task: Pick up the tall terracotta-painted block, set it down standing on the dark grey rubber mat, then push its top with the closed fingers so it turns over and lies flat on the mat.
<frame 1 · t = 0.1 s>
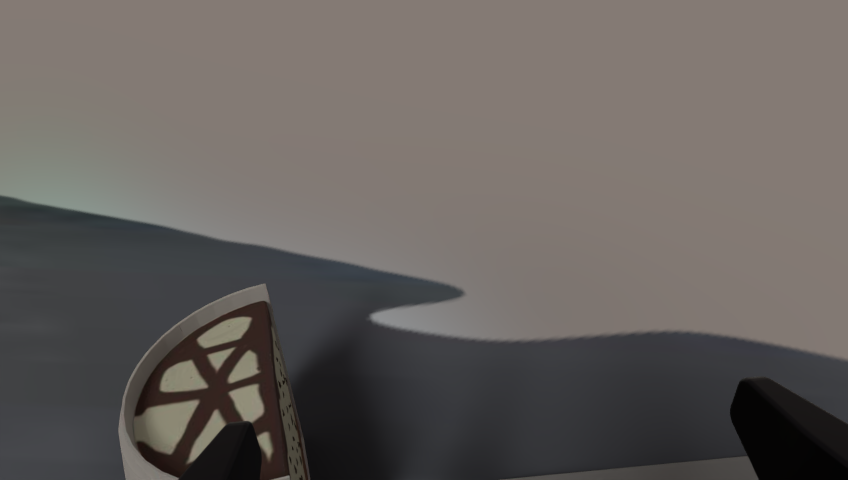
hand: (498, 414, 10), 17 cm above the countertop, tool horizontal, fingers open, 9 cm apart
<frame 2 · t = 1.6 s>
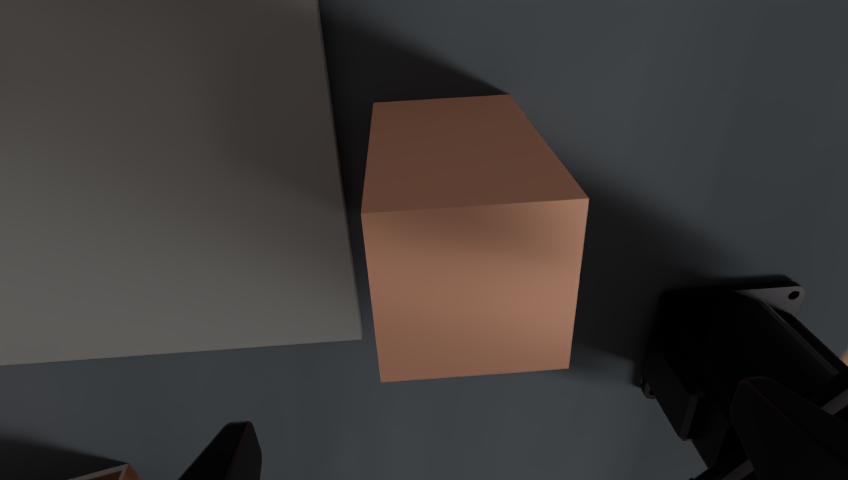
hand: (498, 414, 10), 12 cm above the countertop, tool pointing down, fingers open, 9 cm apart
block: (443, 162, 20), on the countertop
mat: (105, 184, 20), on the countertop
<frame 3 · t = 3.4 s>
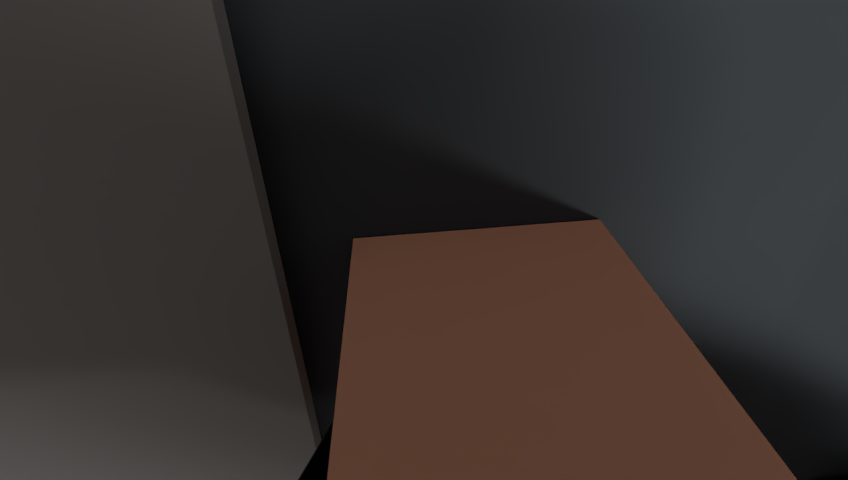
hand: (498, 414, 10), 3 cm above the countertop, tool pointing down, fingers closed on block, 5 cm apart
block: (477, 325, 12), on the countertop, touching gripper
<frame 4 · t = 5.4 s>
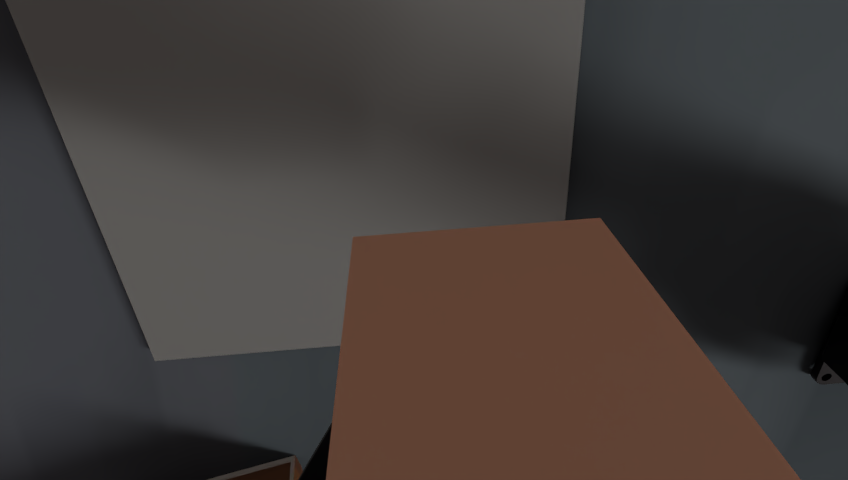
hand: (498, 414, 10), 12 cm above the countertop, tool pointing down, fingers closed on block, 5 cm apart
block: (477, 324, 12), point 10 cm above the countertop, touching gripper
mat: (333, 173, 20), on the countertop
when the fingers open (4 cm above the countertop, at t = 7.1 s): block drops 1 cm, resting on mat.
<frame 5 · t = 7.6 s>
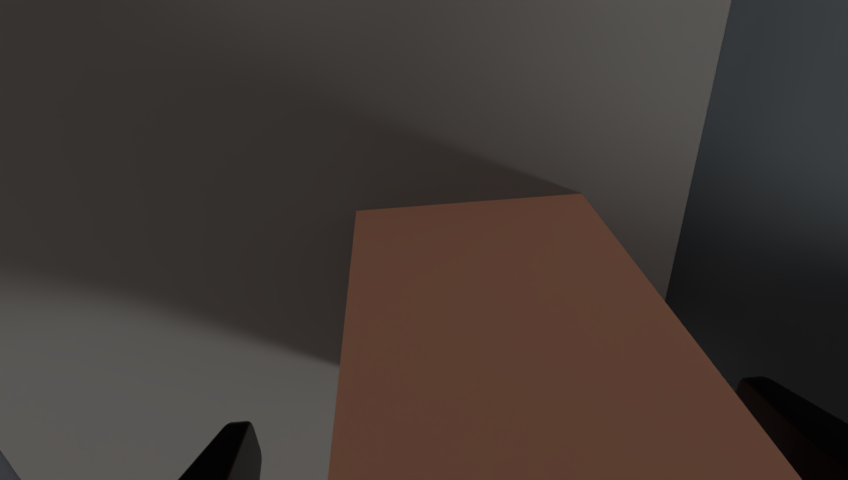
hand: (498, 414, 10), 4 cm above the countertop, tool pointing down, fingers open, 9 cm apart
block: (470, 294, 13), point 1 cm above the countertop, touching mat
mat: (308, 294, 13), on the countertop
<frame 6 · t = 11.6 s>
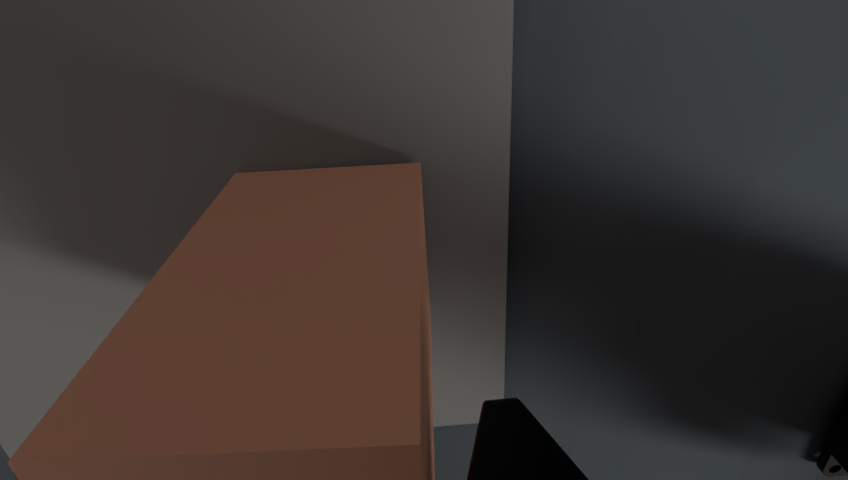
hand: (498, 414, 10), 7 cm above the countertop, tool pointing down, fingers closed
block: (340, 247, 15), point 1 cm above the countertop, touching gripper, mat
mat: (209, 247, 16), on the countertop
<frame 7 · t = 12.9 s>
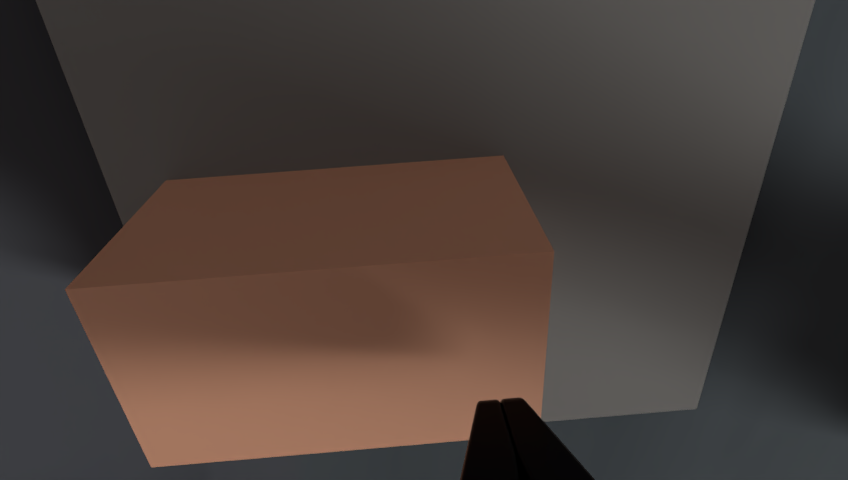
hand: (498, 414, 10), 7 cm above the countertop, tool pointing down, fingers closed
block: (520, 284, 13), point 3 cm above the countertop, tilted 90°, touching mat
mat: (447, 231, 16), on the countertop
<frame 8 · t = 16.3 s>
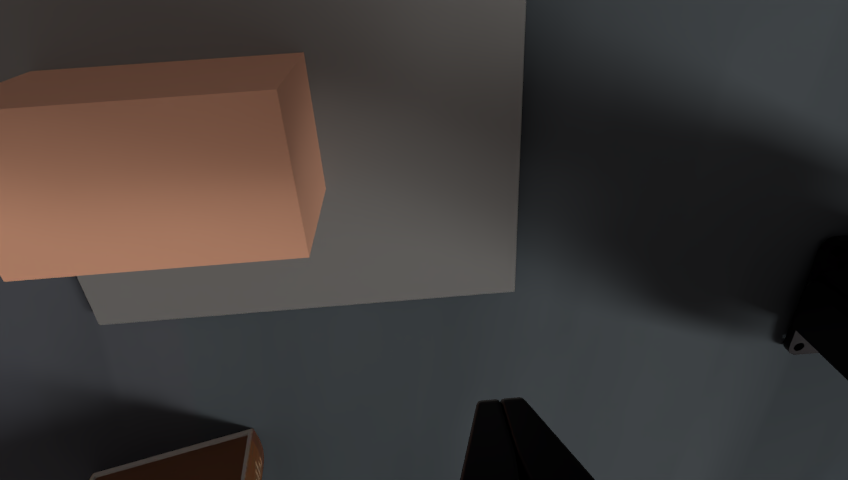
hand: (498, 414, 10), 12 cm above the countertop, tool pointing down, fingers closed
block: (306, 149, 17), point 3 cm above the countertop, tilted 90°, touching mat
mat: (275, 124, 19), on the countertop
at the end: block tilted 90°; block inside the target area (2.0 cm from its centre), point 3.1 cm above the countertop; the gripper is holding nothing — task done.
